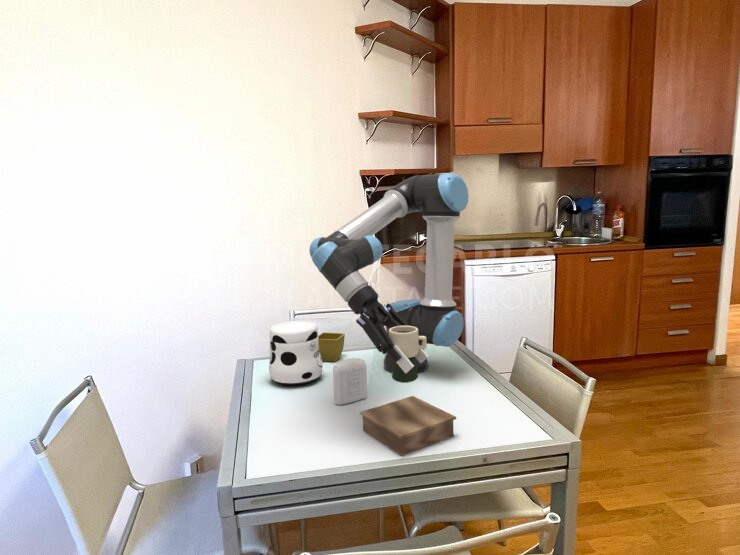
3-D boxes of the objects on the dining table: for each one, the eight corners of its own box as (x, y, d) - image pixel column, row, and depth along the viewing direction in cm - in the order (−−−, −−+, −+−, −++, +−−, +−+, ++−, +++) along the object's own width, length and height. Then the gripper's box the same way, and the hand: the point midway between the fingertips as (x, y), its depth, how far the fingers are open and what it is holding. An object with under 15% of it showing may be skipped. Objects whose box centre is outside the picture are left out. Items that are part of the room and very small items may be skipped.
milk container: (334, 377, 171) (331, 324, 168) (292, 393, 159) (288, 336, 156) (300, 367, 183) (297, 317, 180) (259, 381, 170) (255, 327, 168)
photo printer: (361, 393, 156) (360, 354, 154) (369, 398, 153) (368, 357, 151) (332, 402, 151) (330, 361, 149) (339, 406, 147) (337, 365, 145)
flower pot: (346, 356, 193) (345, 333, 191) (338, 364, 185) (337, 339, 183) (324, 355, 195) (322, 332, 194) (315, 362, 187) (313, 338, 186)
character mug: (427, 375, 130) (426, 324, 128) (427, 385, 123) (426, 332, 121) (383, 375, 131) (382, 325, 129) (381, 385, 125) (379, 333, 122)
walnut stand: (413, 413, 141) (412, 395, 140) (456, 436, 127) (456, 416, 126) (360, 430, 132) (359, 412, 131) (400, 457, 118) (400, 436, 117)
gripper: (370, 295, 141) (425, 361, 135) (326, 311, 124) (387, 387, 118) (386, 277, 137) (444, 344, 131) (343, 291, 120) (407, 368, 115)
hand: (417, 364), depth 125 cm, fingers closed on character mug, 7 cm apart
